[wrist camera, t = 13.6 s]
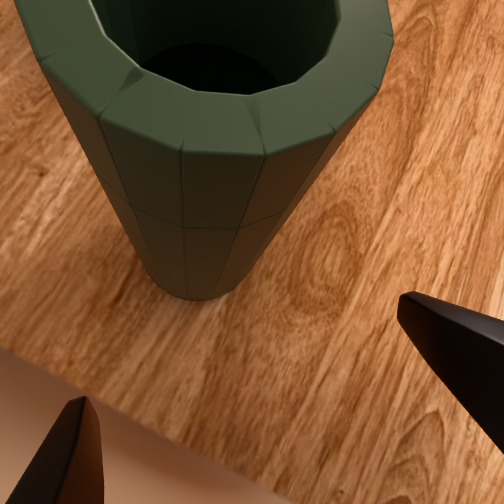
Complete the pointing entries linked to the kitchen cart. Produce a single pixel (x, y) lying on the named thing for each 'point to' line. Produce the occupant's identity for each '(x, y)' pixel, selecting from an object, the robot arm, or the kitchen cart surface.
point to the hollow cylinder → (208, 115)
